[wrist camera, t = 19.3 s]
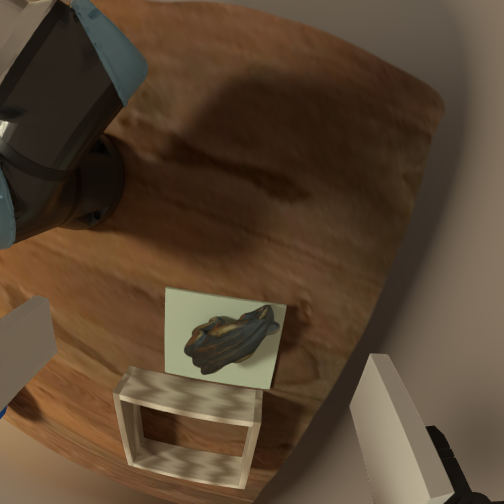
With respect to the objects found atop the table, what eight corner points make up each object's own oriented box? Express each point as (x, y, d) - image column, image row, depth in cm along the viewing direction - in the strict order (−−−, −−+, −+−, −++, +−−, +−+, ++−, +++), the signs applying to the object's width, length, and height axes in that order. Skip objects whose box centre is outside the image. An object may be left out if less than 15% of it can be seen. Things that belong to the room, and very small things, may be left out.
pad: (166, 369, 50) (165, 371, 50) (166, 286, 46) (165, 288, 46) (269, 387, 50) (269, 389, 50) (286, 304, 46) (286, 306, 45)
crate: (139, 439, 57) (128, 464, 49) (129, 365, 51) (112, 392, 43) (247, 460, 56) (244, 489, 49) (262, 390, 50) (261, 422, 43)
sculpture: (262, 288, 44) (259, 308, 38) (285, 323, 45) (286, 347, 39) (188, 328, 47) (175, 351, 40) (212, 359, 48) (203, 385, 41)
